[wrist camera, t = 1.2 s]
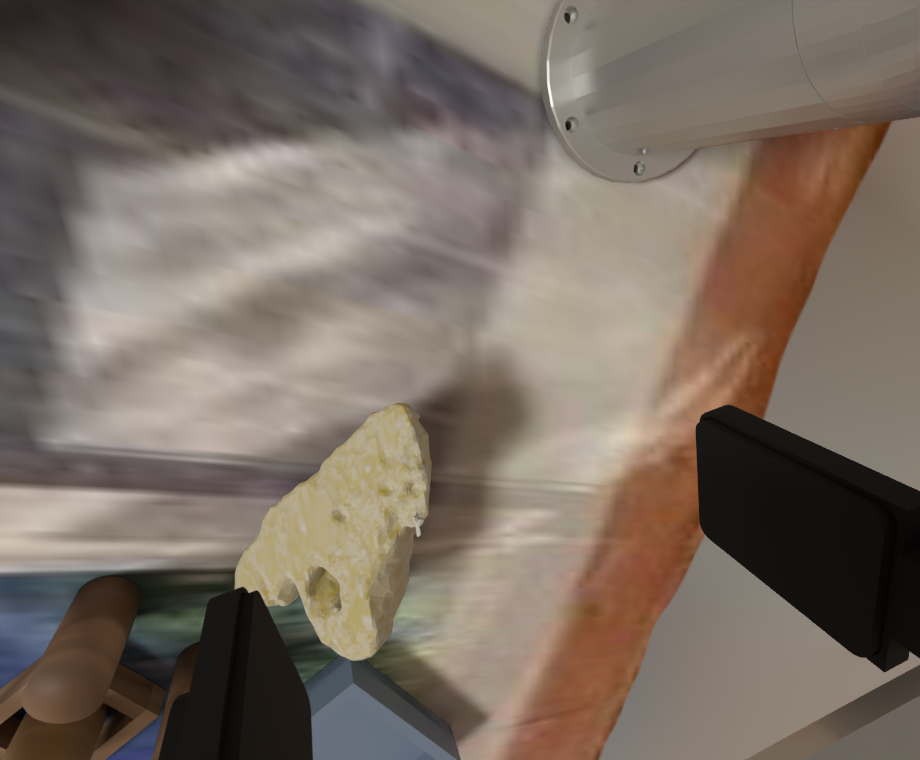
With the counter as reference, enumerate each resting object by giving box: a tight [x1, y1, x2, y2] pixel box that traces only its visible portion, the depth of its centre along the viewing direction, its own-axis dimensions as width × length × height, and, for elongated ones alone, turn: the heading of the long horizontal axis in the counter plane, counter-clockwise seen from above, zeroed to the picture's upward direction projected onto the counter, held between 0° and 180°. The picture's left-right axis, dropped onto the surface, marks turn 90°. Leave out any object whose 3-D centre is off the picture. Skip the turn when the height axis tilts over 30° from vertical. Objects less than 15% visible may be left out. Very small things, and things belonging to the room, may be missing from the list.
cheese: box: [235, 403, 432, 661], centre depth 33 cm, size 15×7×15 cm
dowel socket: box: [0, 657, 166, 760], centre depth 33 cm, size 8×8×2 cm
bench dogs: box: [22, 576, 200, 760], centre depth 31 cm, size 4×12×7 cm, turn 35°
